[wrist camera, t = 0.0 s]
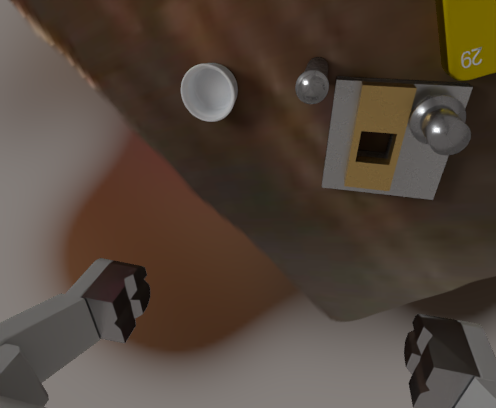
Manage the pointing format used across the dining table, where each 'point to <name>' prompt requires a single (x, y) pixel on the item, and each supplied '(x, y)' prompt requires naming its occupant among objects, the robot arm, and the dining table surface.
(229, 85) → the ramekin
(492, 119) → the dining table surface
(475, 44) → the element tile
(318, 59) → the steel pin
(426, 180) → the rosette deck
